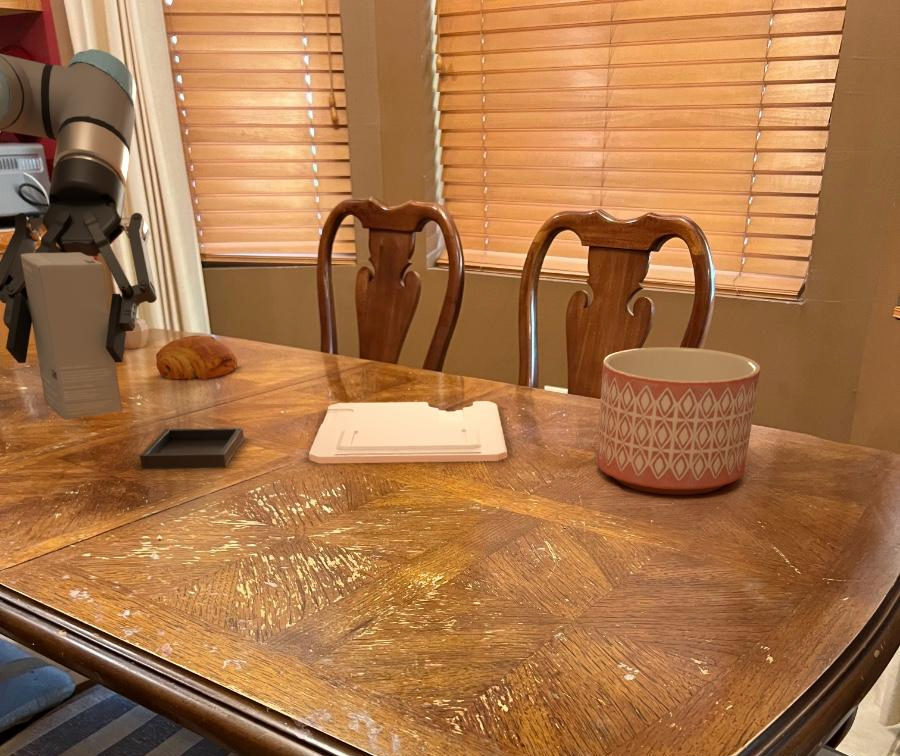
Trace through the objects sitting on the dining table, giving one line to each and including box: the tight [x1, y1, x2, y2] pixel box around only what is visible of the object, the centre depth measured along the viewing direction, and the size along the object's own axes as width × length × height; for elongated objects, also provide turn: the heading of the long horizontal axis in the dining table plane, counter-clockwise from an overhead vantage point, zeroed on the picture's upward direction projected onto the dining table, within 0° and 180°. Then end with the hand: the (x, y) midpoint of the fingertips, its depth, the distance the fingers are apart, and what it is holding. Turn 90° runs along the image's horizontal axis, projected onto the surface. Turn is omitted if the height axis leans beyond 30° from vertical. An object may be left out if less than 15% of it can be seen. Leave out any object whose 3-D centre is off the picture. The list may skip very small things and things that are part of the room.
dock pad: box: [139, 427, 245, 470], centre depth 124 cm, size 12×13×2 cm
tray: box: [308, 400, 508, 464], centre depth 132 cm, size 28×28×2 cm
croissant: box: [155, 335, 238, 381], centre depth 168 cm, size 14×16×8 cm
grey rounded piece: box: [124, 317, 150, 350], centre depth 190 cm, size 8×8×7 cm
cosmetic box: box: [20, 252, 123, 421], centre depth 91 cm, size 8×7×16 cm
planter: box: [595, 346, 761, 496], centre depth 112 cm, size 19×19×15 cm
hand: (65, 355), depth 89 cm, fingers closed on cosmetic box, 9 cm apart
